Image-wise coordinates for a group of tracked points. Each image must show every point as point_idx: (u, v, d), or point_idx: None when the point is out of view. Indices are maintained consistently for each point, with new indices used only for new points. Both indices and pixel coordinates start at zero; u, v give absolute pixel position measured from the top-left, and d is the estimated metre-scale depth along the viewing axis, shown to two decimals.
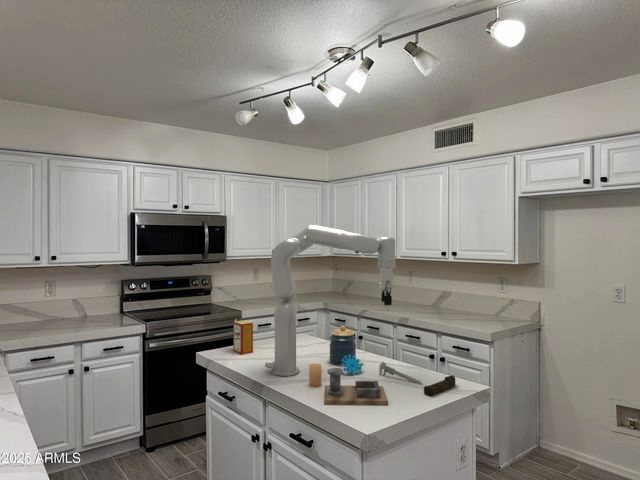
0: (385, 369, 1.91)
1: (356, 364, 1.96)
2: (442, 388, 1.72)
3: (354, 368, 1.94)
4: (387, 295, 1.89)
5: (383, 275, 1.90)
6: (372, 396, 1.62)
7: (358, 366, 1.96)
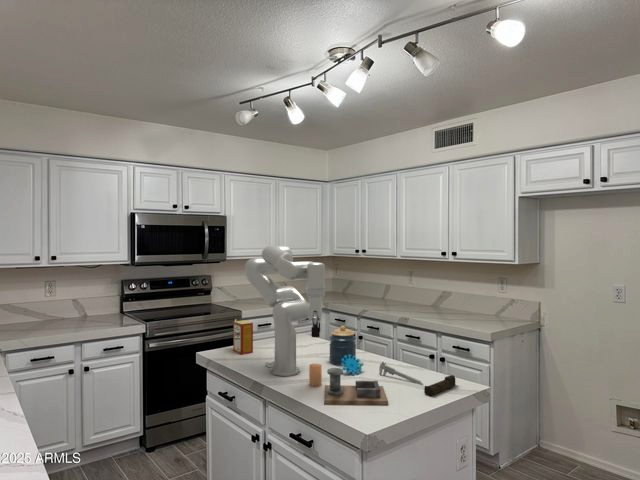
0: (385, 369, 1.91)
1: (356, 364, 1.96)
2: (442, 388, 1.72)
3: (354, 368, 1.94)
4: (314, 326, 1.74)
5: (310, 304, 1.75)
6: (372, 396, 1.62)
7: (358, 366, 1.96)
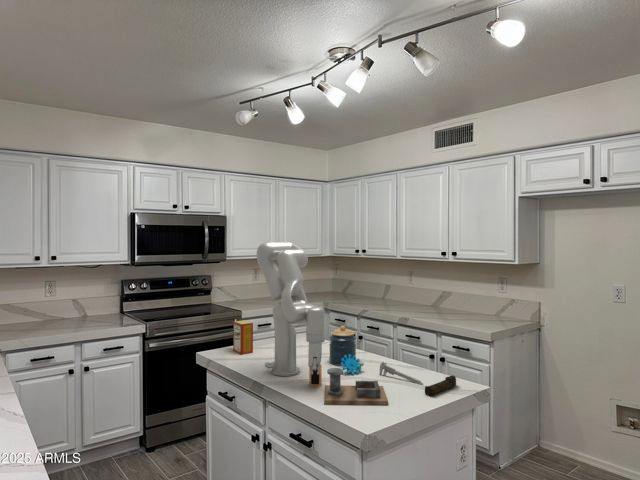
0: (385, 369, 1.91)
1: (356, 364, 1.97)
2: (443, 388, 1.72)
3: (353, 368, 1.95)
4: (314, 374, 1.76)
5: (310, 350, 1.76)
6: (372, 396, 1.62)
7: (358, 366, 1.96)
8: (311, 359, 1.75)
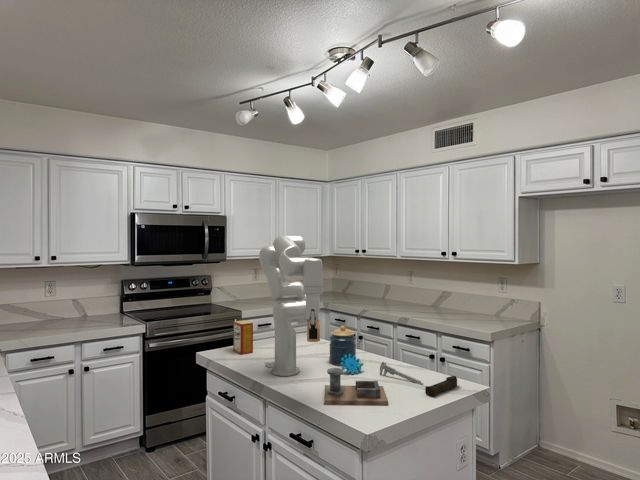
0: (385, 369, 1.91)
1: (356, 364, 1.97)
2: (444, 388, 1.72)
3: (353, 367, 1.95)
4: (312, 328, 1.66)
5: (307, 303, 1.66)
6: (372, 396, 1.62)
7: (357, 366, 1.96)
8: (309, 312, 1.65)
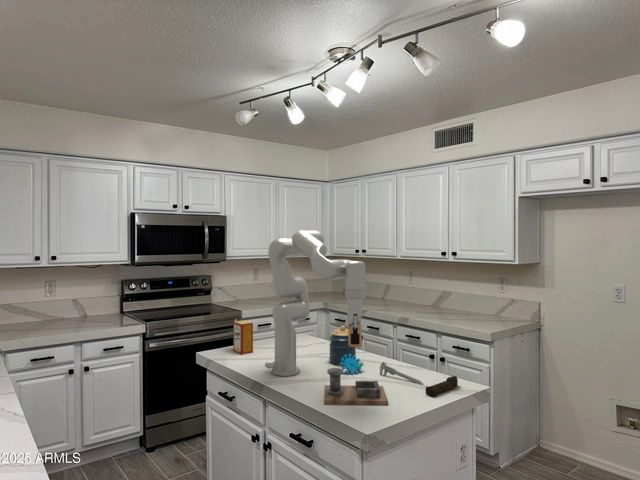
0: (386, 369, 1.91)
1: (356, 363, 1.97)
2: (444, 389, 1.71)
3: (353, 367, 1.95)
4: (354, 333, 1.61)
5: (350, 307, 1.60)
6: (372, 396, 1.62)
7: (357, 366, 1.97)
8: (351, 316, 1.60)
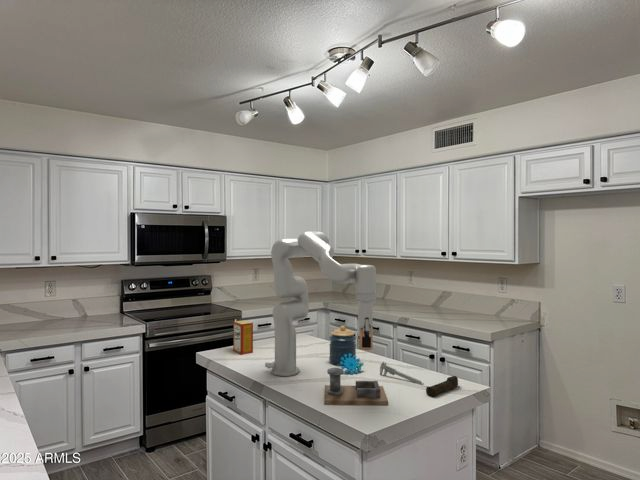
0: (386, 369, 1.91)
1: (355, 363, 1.97)
2: (444, 389, 1.71)
3: (353, 367, 1.96)
4: (365, 337, 1.63)
5: (361, 311, 1.62)
6: (372, 396, 1.62)
7: (357, 365, 1.97)
8: (363, 320, 1.61)
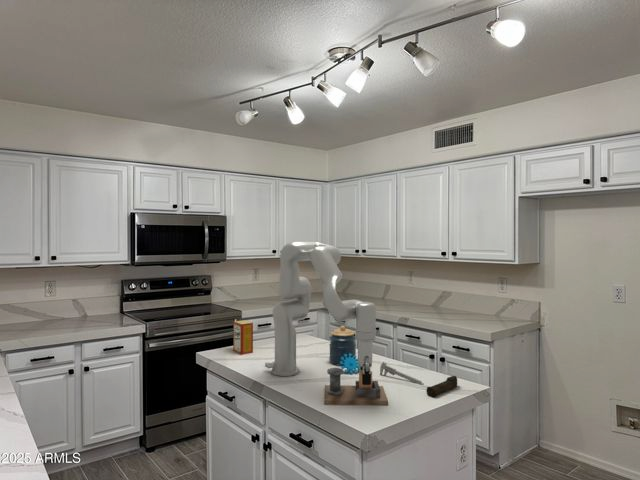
0: (386, 369, 1.91)
1: (355, 363, 1.98)
2: (445, 389, 1.71)
3: (352, 367, 1.96)
4: (365, 374, 1.61)
5: (361, 349, 1.62)
6: (372, 396, 1.62)
7: (357, 365, 1.97)
8: (362, 359, 1.62)
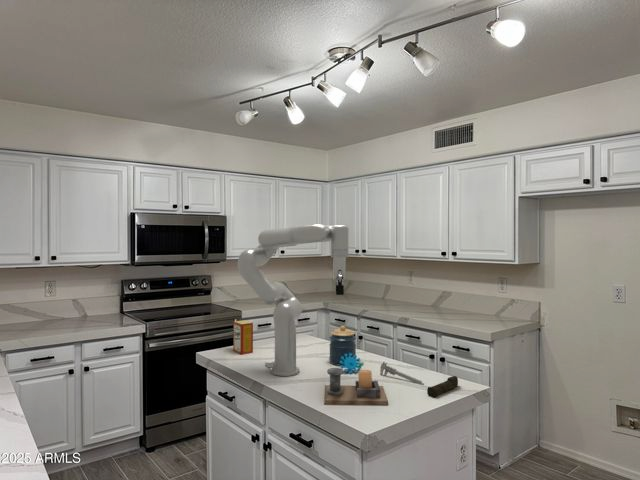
0: (386, 369, 1.91)
1: (355, 363, 1.98)
2: (445, 389, 1.71)
3: (352, 367, 1.96)
4: (339, 284, 1.84)
5: (335, 264, 1.85)
6: (372, 396, 1.62)
7: (357, 365, 1.97)
8: (336, 272, 1.85)
